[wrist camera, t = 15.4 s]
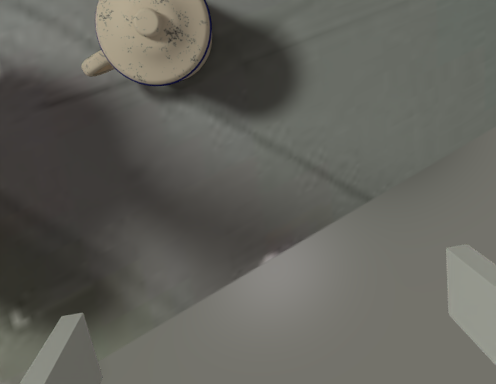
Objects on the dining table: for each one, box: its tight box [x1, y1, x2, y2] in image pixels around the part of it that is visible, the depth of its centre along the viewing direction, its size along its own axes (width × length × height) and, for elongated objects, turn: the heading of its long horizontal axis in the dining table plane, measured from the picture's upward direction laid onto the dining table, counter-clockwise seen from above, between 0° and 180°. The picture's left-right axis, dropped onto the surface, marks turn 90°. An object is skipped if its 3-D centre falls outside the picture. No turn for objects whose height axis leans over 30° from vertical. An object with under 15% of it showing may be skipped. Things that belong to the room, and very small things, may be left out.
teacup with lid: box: [82, 0, 212, 86], centre depth 37 cm, size 12×9×12 cm
